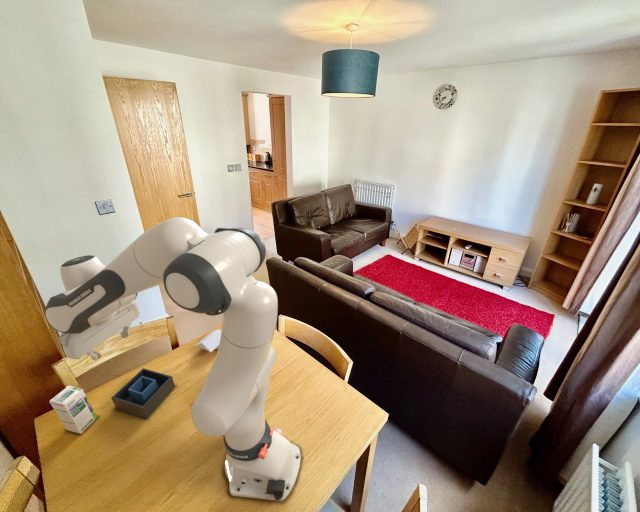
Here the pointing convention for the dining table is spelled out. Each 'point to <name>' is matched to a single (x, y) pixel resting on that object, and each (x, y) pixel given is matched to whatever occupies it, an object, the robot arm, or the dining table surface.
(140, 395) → the small bin
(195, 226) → the robot arm
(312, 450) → the dining table surface
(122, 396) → the big bin
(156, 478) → the dining table surface
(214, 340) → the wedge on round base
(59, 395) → the syrup box
